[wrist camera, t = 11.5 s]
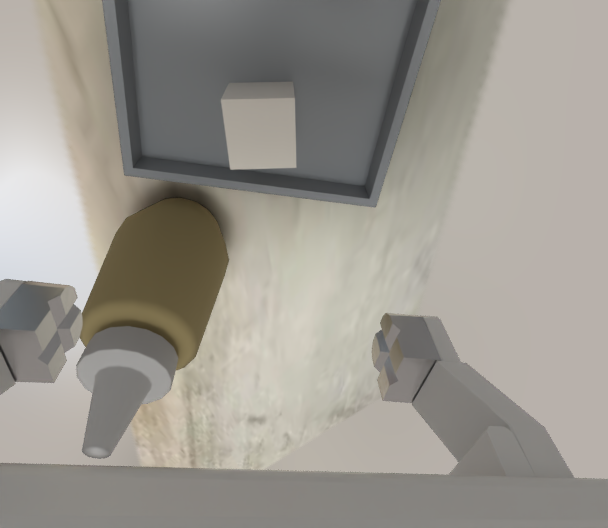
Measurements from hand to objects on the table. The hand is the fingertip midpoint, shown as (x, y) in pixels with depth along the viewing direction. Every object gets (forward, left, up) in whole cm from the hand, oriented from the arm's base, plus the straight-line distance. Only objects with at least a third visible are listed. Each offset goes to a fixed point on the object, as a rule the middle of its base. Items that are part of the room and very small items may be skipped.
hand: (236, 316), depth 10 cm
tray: (-3, 0, -19) cm, 19 cm away
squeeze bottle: (+10, -5, -19) cm, 22 cm away
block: (0, 0, -18) cm, 18 cm away
